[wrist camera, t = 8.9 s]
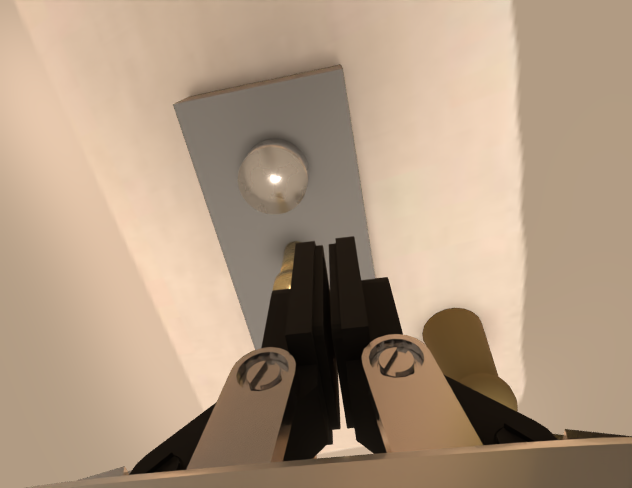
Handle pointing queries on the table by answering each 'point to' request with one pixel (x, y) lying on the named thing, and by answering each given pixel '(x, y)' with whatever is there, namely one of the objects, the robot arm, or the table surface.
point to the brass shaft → (286, 268)
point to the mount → (322, 187)
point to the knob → (273, 176)
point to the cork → (466, 353)
